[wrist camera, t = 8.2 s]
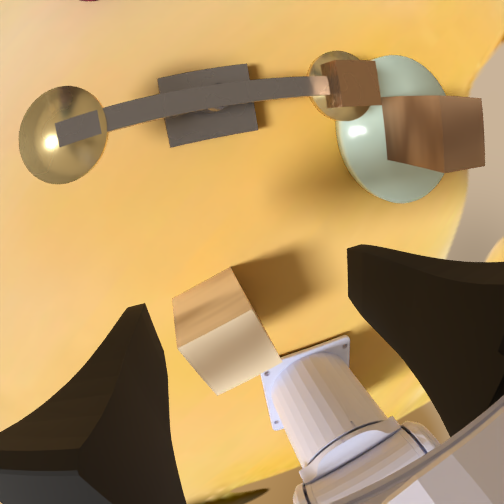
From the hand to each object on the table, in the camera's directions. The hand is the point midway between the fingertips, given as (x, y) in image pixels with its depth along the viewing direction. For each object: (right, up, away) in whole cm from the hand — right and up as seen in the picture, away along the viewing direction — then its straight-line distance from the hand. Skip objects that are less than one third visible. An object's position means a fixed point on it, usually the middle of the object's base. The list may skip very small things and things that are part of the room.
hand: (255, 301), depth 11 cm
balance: (-3, +10, +6) cm, 12 cm away
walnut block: (+11, +11, +9) cm, 18 cm away
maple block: (-3, -2, +11) cm, 12 cm away
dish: (+11, +11, +10) cm, 18 cm away
